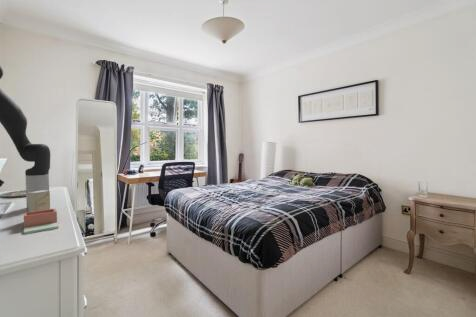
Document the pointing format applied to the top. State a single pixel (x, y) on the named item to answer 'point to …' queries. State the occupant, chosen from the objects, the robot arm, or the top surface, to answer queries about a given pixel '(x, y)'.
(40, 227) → the pad
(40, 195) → the skincare box
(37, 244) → the top surface
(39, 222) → the bin
